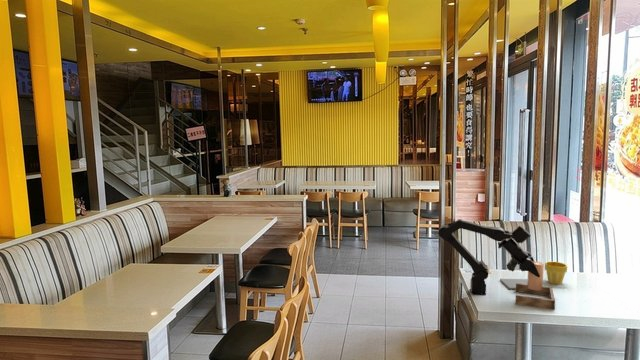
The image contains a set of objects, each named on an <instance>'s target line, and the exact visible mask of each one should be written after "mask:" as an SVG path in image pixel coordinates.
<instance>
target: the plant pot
mask: <svg viewBox="0 0 640 360" xmlns="http://www.w3.org/2000/svg"><path fill="white" fill-rule="evenodd" d="M544 269H545V272H546V277H547V281H548V282H549V284H550V283H551V284H555V285H561V284H562V283H563V281H564V279H565V278H564V277H565V275H566V273H567V272H568V265H567V264H566V263H564V262H559V261H546V262H545V263H544Z"/></svg>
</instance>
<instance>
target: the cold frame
mask: <svg viewBox="0 0 640 360" xmlns="http://www.w3.org/2000/svg"><path fill="white" fill-rule="evenodd" d="M515 292H517V293H524V294H525V293H526V294H531V295H532V294H534V295H538V296H539V295H541V296H548V297H549V298H543V297H542V298H541V297H533V296H527V295H520V294H515V302H514V303H515V305H517V306H518V305H519V306H526V307H534V308H540V309H541V308H542V309H548V310H556V309H555V308H556V307H555V306H556V301H555V294H554V289H553V286H543V289H542V290H531V289H529V288H528V287H527V284H520V283H516V290H515Z"/></svg>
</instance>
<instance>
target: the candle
mask: <svg viewBox="0 0 640 360" xmlns="http://www.w3.org/2000/svg"><path fill="white" fill-rule="evenodd" d="M533 262H534V264H535V266H536V268H537V270H538V272H539V275H540V277H537V276H535V275H534V274H532V273H531V272H529V271H527V279H528V284H527V287H528V288H529V289H531V290H542V289H543V284H544V268H545V263H543V262H540V261H535V260H534V261H533Z"/></svg>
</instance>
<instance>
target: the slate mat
mask: <svg viewBox="0 0 640 360" xmlns="http://www.w3.org/2000/svg"><path fill="white" fill-rule="evenodd" d="M499 280H500V282H501V283H502V284H503V285H504V286H505V287H506V288H507V289H508V290H510V291H512V290H514V291H516V283H520V284H528V278H500V279H499Z"/></svg>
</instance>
